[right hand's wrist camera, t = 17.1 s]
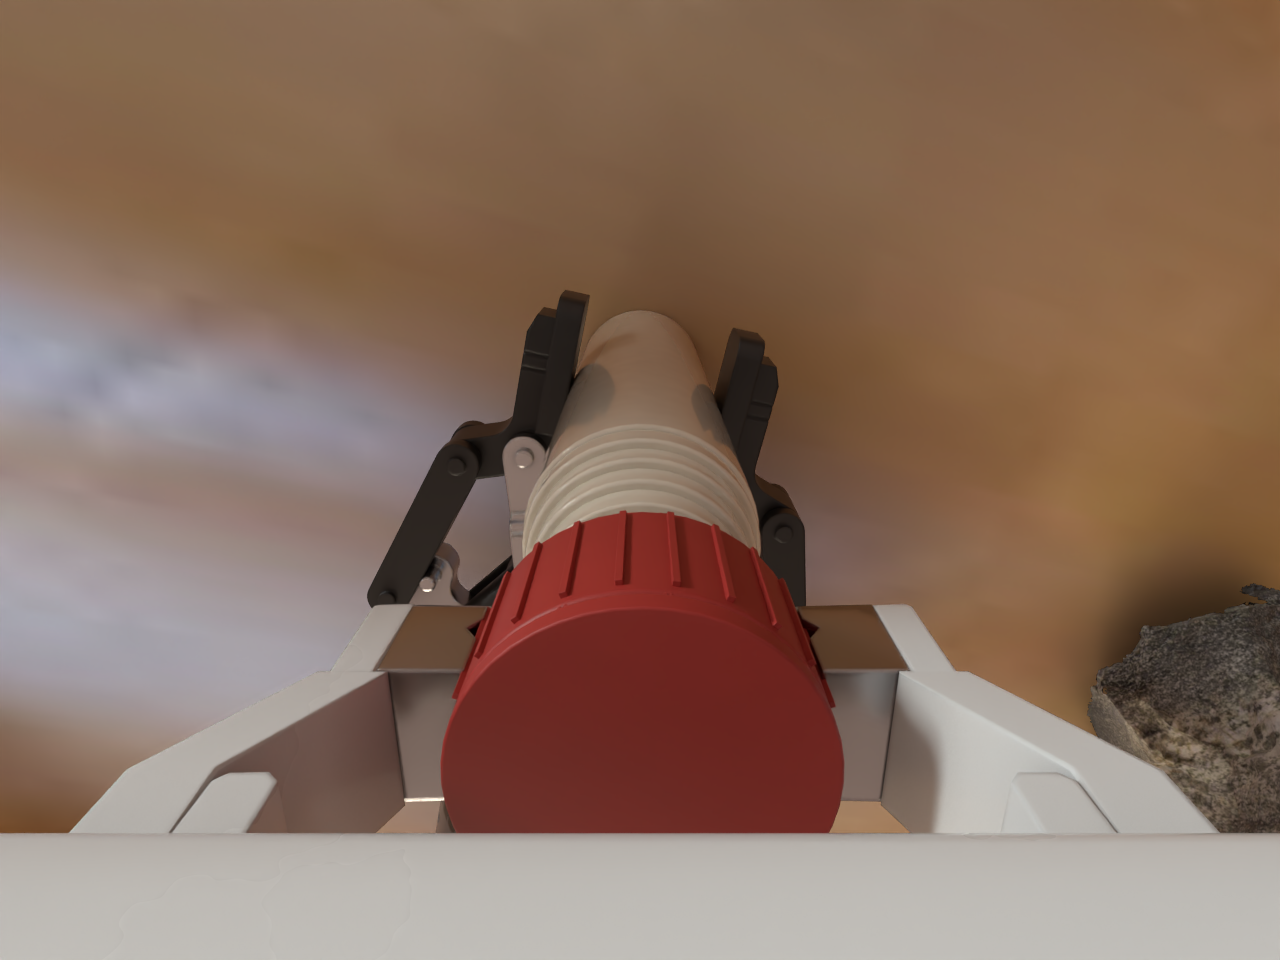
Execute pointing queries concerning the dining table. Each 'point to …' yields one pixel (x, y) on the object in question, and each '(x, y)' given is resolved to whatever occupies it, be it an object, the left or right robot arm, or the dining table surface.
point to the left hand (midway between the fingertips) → (661, 318)
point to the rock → (1205, 710)
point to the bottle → (640, 438)
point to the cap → (642, 692)
